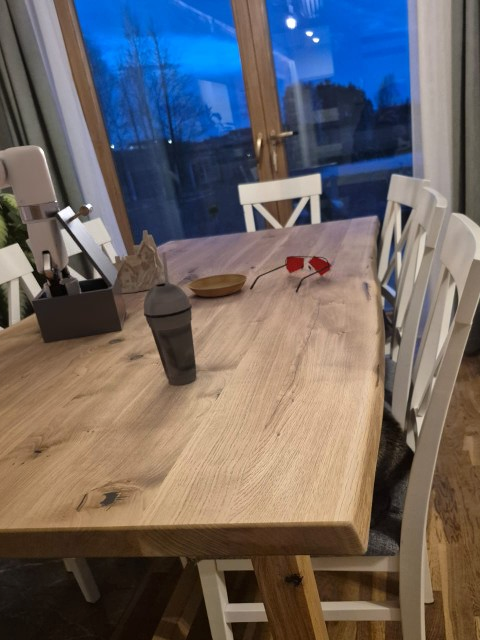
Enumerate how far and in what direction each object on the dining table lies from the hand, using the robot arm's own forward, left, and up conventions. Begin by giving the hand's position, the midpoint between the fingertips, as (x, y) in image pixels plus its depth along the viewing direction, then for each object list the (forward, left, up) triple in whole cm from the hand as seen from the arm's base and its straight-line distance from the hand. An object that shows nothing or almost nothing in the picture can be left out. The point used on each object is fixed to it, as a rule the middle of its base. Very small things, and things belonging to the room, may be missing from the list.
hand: (65, 299), depth 123 cm
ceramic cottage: (+13, +35, -7) cm, 38 cm away
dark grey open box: (+3, 0, -7) cm, 7 cm away
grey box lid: (+7, 0, +10) cm, 12 cm away
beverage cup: (+23, -41, -7) cm, 48 cm away
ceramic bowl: (0, 0, -1) cm, 1 cm away
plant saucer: (+33, +14, -7) cm, 37 cm away
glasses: (+51, +11, -7) cm, 53 cm away
